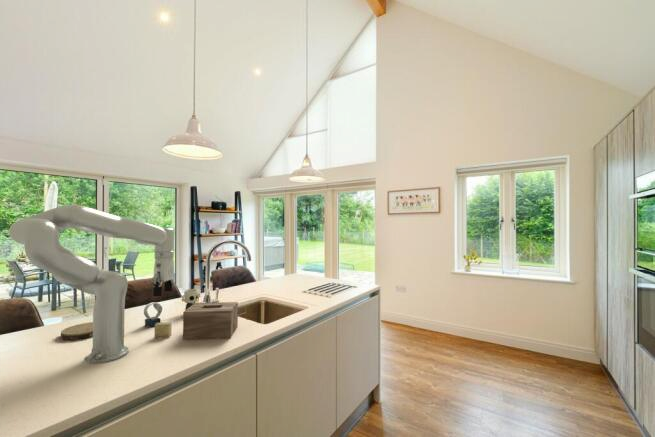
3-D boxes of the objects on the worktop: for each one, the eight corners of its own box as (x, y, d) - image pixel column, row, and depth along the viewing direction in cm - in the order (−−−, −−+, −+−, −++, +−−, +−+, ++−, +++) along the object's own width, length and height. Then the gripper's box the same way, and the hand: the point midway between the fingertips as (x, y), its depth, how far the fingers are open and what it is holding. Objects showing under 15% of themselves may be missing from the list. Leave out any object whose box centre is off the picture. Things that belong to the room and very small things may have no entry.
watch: (164, 323, 144) (164, 301, 144) (147, 328, 137) (148, 305, 137) (157, 321, 147) (157, 300, 147) (141, 326, 140) (141, 303, 140)
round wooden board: (53, 337, 127) (54, 330, 127) (96, 326, 141) (96, 319, 141) (70, 344, 120) (71, 337, 120) (113, 331, 134) (113, 325, 134)
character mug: (185, 317, 153) (185, 293, 154) (177, 315, 157) (178, 291, 157) (203, 312, 163) (204, 289, 163) (196, 310, 166) (196, 287, 167)
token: (168, 338, 126) (169, 324, 126) (154, 338, 126) (154, 324, 126) (171, 335, 129) (171, 322, 129) (157, 336, 128) (157, 322, 128)
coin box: (230, 338, 126) (230, 310, 126) (182, 339, 124) (183, 311, 124) (237, 326, 140) (237, 301, 140) (194, 328, 138) (195, 302, 138)
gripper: (163, 257, 121) (162, 298, 121) (180, 253, 138) (179, 289, 138) (145, 257, 121) (143, 298, 120) (164, 253, 138) (163, 289, 137)
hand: (163, 293), depth 129 cm, fingers open, 9 cm apart
